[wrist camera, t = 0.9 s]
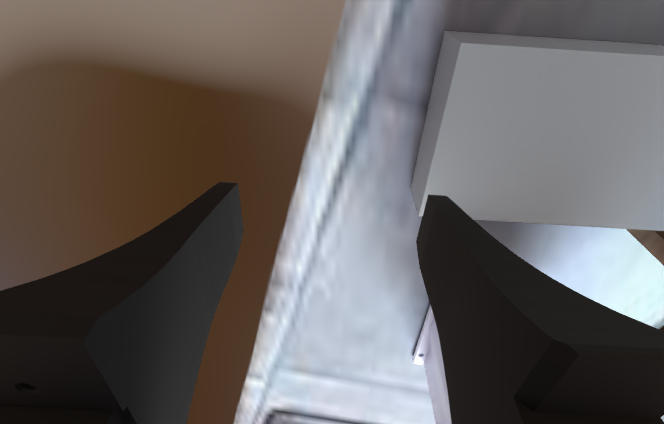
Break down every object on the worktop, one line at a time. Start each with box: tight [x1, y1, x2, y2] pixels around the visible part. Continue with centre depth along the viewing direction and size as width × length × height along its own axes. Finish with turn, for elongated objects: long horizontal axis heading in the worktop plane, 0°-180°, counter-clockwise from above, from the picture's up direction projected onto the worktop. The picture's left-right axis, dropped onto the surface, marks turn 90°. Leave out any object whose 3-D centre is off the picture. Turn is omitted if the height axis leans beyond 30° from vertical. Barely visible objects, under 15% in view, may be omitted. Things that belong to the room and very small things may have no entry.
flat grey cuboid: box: [411, 31, 664, 231], centre depth 19 cm, size 9×14×3 cm, turn 87°
